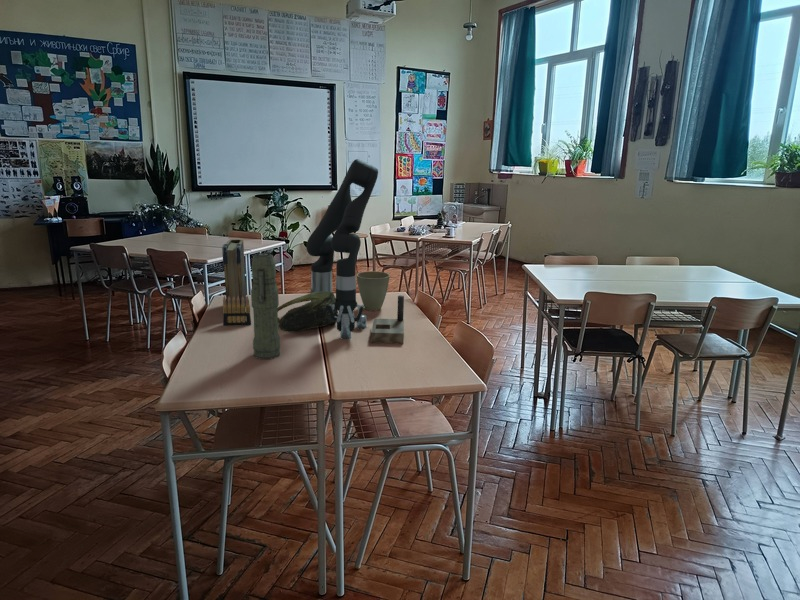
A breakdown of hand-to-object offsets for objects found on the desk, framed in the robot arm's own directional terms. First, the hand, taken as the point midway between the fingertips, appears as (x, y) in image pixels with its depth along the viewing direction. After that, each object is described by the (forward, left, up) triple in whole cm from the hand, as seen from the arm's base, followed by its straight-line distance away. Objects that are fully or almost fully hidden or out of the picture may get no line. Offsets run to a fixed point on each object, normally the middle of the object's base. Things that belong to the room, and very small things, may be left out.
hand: (345, 330), depth 200 cm
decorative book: (-52, +34, -3) cm, 62 cm away
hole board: (+16, +4, -3) cm, 17 cm away
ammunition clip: (-45, +12, -3) cm, 47 cm away
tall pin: (0, 0, -3) cm, 3 cm away
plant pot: (+8, +41, -3) cm, 42 cm away
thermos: (-25, -20, -3) cm, 32 cm away
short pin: (+5, +13, -3) cm, 14 cm away
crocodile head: (-17, +11, -3) cm, 20 cm away
